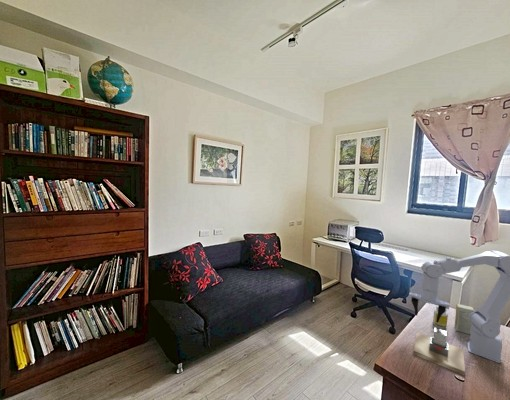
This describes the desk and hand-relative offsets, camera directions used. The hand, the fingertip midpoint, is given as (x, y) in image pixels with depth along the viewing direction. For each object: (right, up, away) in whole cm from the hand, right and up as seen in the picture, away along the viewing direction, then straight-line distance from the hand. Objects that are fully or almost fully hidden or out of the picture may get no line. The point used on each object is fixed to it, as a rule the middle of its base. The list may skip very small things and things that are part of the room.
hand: (426, 317), depth 105 cm
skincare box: (+25, -11, +9) cm, 28 cm away
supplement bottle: (+16, -10, +12) cm, 22 cm away
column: (-1, -9, -8) cm, 12 cm away
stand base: (-1, -11, -8) cm, 13 cm away
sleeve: (-1, -9, -8) cm, 12 cm away
